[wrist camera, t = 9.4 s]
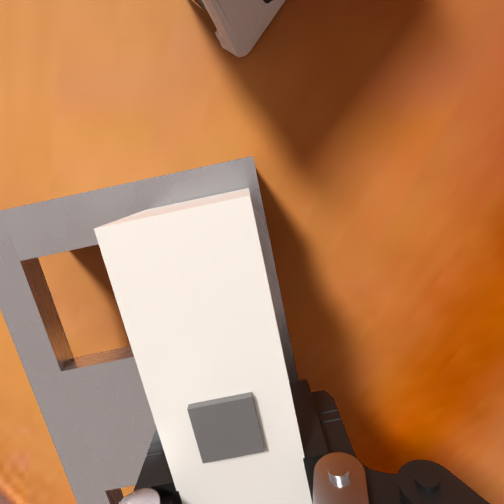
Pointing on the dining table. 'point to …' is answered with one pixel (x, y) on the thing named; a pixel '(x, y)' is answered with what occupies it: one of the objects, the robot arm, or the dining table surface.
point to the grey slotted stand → (109, 362)
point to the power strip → (208, 348)
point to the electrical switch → (240, 21)
